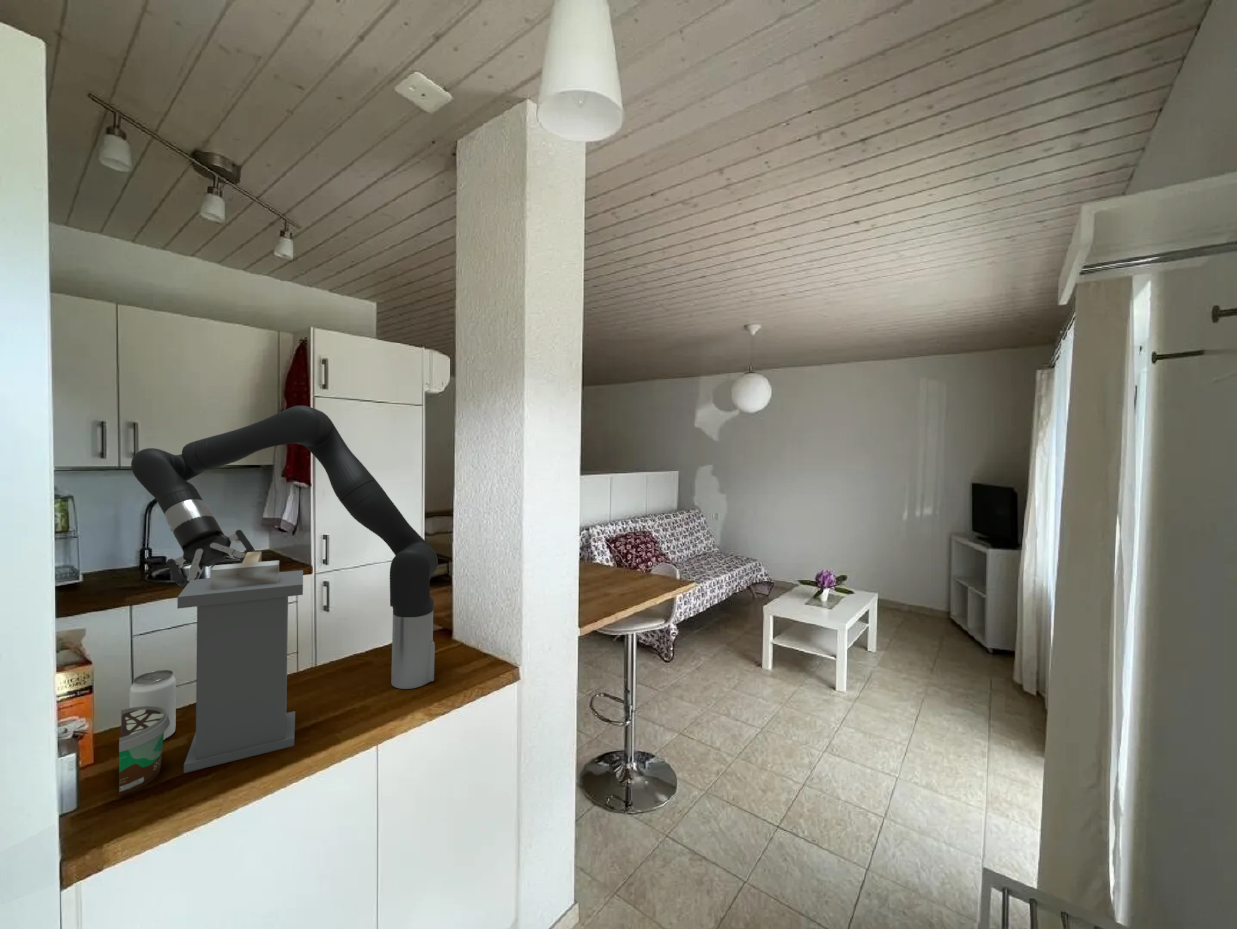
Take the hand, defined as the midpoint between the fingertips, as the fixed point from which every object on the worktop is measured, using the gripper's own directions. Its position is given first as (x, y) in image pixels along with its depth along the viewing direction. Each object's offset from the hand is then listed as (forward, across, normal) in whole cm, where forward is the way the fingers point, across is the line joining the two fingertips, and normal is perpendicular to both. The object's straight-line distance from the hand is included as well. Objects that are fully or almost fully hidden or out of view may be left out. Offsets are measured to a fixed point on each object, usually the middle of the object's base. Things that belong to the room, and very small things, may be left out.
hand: (228, 584), depth 106 cm
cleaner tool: (+4, -5, +11) cm, 12 cm away
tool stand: (+31, +9, +1) cm, 32 cm away
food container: (+27, +22, +5) cm, 35 cm away
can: (+20, +22, -6) cm, 30 cm away
